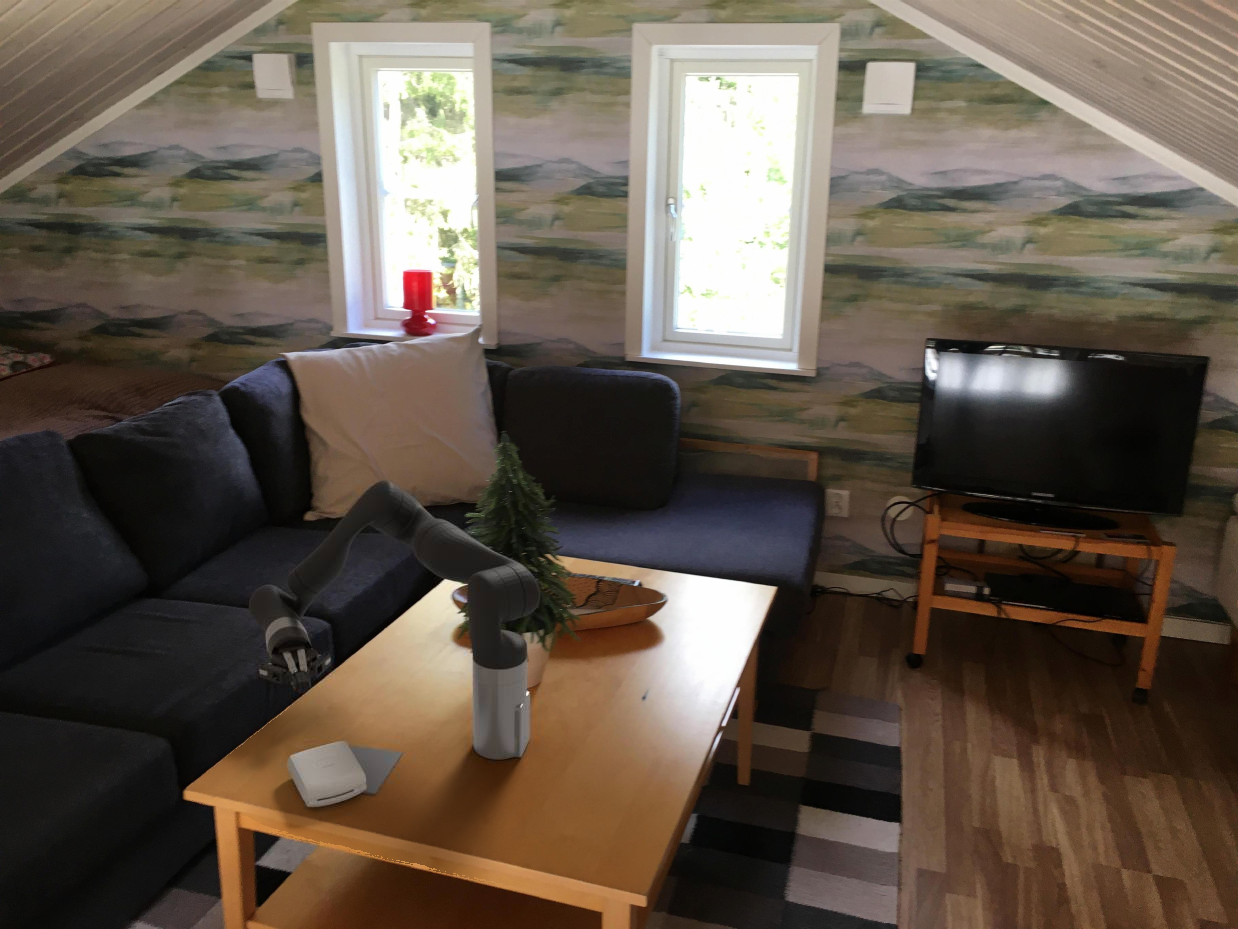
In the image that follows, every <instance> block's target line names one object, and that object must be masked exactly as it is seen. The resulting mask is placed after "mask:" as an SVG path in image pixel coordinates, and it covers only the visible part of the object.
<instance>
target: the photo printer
mask: <svg viewBox="0 0 1238 929" xmlns="http://www.w3.org/2000/svg"><path fill="white" fill-rule="evenodd" d="M348 745H349V744H348V743H347V741H345V740H341V741H335V742H332V743H328V744H323V745H320V746H316V747H312V748H308V749H306V750H302V751H299V752H296V753H293V754H292V755H290V756H289V758H288V759H287V764H286V767H287V770H288V772H289V774H290V776H291V778H292V780H293V782H294V784H295V786H296V788H297V790H298V792H299V794H300V796H301V799H302V800H303V801H304V803H305V805H306V807H307V808H319V807H325V806H329V805H334V804H336V803H340V802H343V801H347V800H349V799H351V798H353V797H355V796H358V795H360V794H362V793H361V792H363V791H364V790H366V788H367V786H366V776H365V773H364V771H363V769H362V768H361V766H360V764H359V763H358V761H357V759H356V758H355V756H354V754H353V753H352V751H351V749H350V748H349V746H348Z"/></svg>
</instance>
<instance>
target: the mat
mask: <svg viewBox="0 0 1238 929" xmlns="http://www.w3.org/2000/svg"><path fill="white" fill-rule="evenodd" d="M348 746H349V748H350V749H351V751H352V753H353V754H354V756H355V758H356V759H357V761H358V763H359V764H360V766H361V768H362V769H363V771H364V773H365V776H366V786H367V788H366V790H364V791H363V792H361V793H360V794H367V795H372V794H373V795H374V796H376V795H377V794H378V792H379V791H380V789H381V788H382V786H383V784H384V783H385V781H386V780H387V779H388V777H389V775H390V774H391V772H392V771H393V769H394V768H395V767H396V765H397V763H398V762H399V760H400V759H401V757H402V755H403V754H404V752H403V751H398V750H388V749H381V748H373V747H366V746H357V745H350V744H348ZM373 795H372V796H373Z"/></svg>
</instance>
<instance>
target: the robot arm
mask: <svg viewBox="0 0 1238 929" xmlns="http://www.w3.org/2000/svg"><path fill="white" fill-rule="evenodd" d="M367 526H370V527H372V528H374V529H375V530H376V531H378V532H380V533H381V534H383V535H385V536H386V537H387V538H388V537H389V538H390V539H392V540H395V541H397V542H399V543H401V544H403V545H404V546H406V547H408V548H411V549H412V552H413V556H415V558H416V560H418V562H419V563H420V564H422V565H423V566H424V567H425V568H426V569H427V570H429V571H431V573H432V574H434V575H436V576H438V577H439V578H442V579H444V580H446V581H450V582H454V583H455V582H456V583H461V584H465V585H466V584H467V587H466V603H467V613H468V615H467V616H468V633H469V641H470V645H471V651H472V652H471V653H472V721H473V722H472V723H473V724H472V727H473V730H472V732H473V734H472V740H473V750H474V752H476V753H477V754H478V755H479V756H481V757H483V758H486V759H490V760H506V759H507V760H508V759H511V758H522V757H523V755H524V752H525V750H526V748H527V745H528V744H529V742H530V738H531V736H530V732H531V725H530V724H531V707H530V706H531V691H528V643H527V641H526V639H525V638H524V637H523V636H522V635H521V634H519V633H516V632H514V631H510V630H507V629H502V628H501V624H502V623H505V622H508V621H512V620H515V619H518V618H522V617H524V616H525V617H526V616H529V615H531V614H532V613H533V612H534V611H535V610H536V609H537V608H538V607H539V604H540V601H541V589H540V586H539V584H538V580H536V578H535V576H534V575H533V573H532V572H531V571H530V570H529V569H528V568H527V567H526V566H525V565H523V564H522V563H520V562H518V561H516V560H514V559H511V557H508V556H505V555H502V554H501V553H499V552H497V551H494V550H493V549H491V548H489V547H487V546H486V545H485V544H483V543H481V542H480V541H478V540H476V539H475V538H473V537H471V535H469V534H468V533H466V532H465V531H464V530H463V529H461V528H460V527H459V526H457V525H455V524H453V523H452V522H449V521H448V520H445V519H443V518H436V517H435V516H433V515H432V514H431V513H430V512H428V511H427V509H425V508H424V506H423V505H422V504H421V503H420V502H419V501H418V500H417V499H416V498H415V497H414V496H412V495H411V494H409V493H407V492H406V491H405V490H403V489H402V488H400V487H399V486H397V485H396V484H395V483H393V482H391V481H389V480H379V481H377V482H375V483H374V484H372V485H371V486H370V487H369V488H368V489H367V490H365V491H364V493H362V495H360V497H358V499H357V500H356V501H355V503H354V504H353V505H352V507H350V509H349V510H348V511H347V512H346V513H345V514H344V516H343V517H342V518H341V520H340V521H339V522H338V523H337V525H336V526H335V527H334V529H333V530H332V531H331V532H330V533H329V535H327V537H326V538H325V539H324V540H323V541H322V542H321V543H320V545H319V546H318V547H317V548H316V549H315V550H313V552H311V553H310V554H309V555H308V556H307V557H306V558H304V559H303V561H301V563H299V564H298V565H297V566H296V567H294V568H293V569H292V570H291V571H290V572H289V574H288V575H287V578H286V582H287V586H288V587H289V589H290V590H291V591H292V593H293V594H294V595H295V597H294V598H293V596H291V595H290V594H289V593H287V592H285V591H284V590H282V589H280V588H279V587H278V586H276V585H273V584H264V585H262V586H259V587H257V588H256V589H255V591H253V593H252V594H251V596H250V598H249V602H248V610H249V614H250V615H251V617H252V619H253V620H254V621H255V623H256V624H257V625H258V626H259V627H260V629H262V630H263V633H264V636H265V643H266V644H265V645H266V651H267V653H268V655H269V660H268V663H267V662H260V663H259V664H258V666H259V668H258V669H259V678H261V679H264V680H267V681H270V682H273V683H276V684H279V685H287V684H288V683H290V684H291V685H292V688H293V690H294V691H295V692H297V691H298V694H301V693H306V692H308V689H311V687H312V686H311V685H312V684H311V680H316V679H318V678H319V677H320V676H321V675H322V674H324V672H325V671H326V670H328V668H330V667H331V662H332V661H331V652H330V651H324V652H323V653H322V654H319V653H318V651H317V650H315V649H314V648H313V646H312V642H311V639H310V638H309V636H308V632H307V630H306V628H305V626H304V625H303V623H302V621H301V619H302V618H303V616H304V615H305V613H306V611H307V610H308V608H309V607H310V606H311V605H312V603H313V602H314V600H315V599H316V598H317V596H319V595H320V594H321V593H322V592H323V591H325V589H327V588H328V587H329V586H330V585H331V584H332V583H333V582H334V581H335V580H336V579H337V578H338V577H339V576H340V574H341V573H342V572H343V569H345V565H346V563H347V559H348V556H349V552H350V549H351V546H352V543H353V541H354V539H355V537H357V535H358V534H359V533H360V532H361V531H362V530H363V529H364V528H366V527H367Z"/></svg>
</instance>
